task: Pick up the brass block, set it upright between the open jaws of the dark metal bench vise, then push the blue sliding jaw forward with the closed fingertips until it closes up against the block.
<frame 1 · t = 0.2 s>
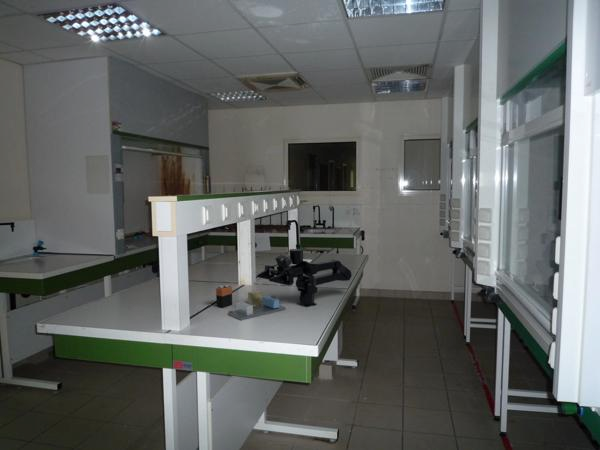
hand: (263, 277, 184), 17 cm above the lab bench, tool horizontal, fingers open, 9 cm apart
vise: (255, 312, 189), on the lab bench
battery: (224, 306, 200), on the lab bench
brass block: (255, 303, 203), on the lab bench
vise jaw: (271, 301, 194), point 3 cm above the lab bench, slide at 0.0 cm
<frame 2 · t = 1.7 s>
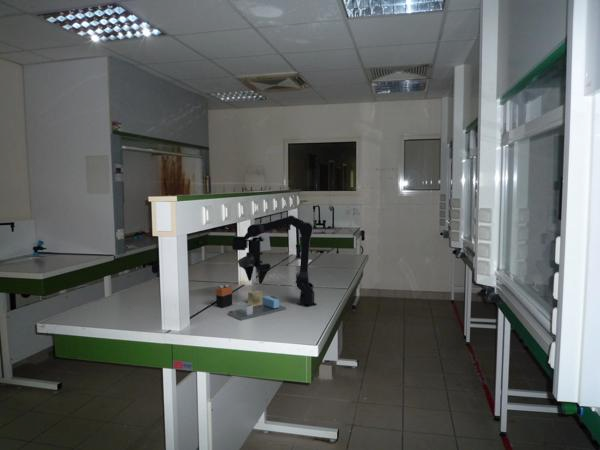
hand: (254, 282, 202), 11 cm above the lab bench, tool pointing down, fingers open, 9 cm apart
nothing on the lab bench moved.
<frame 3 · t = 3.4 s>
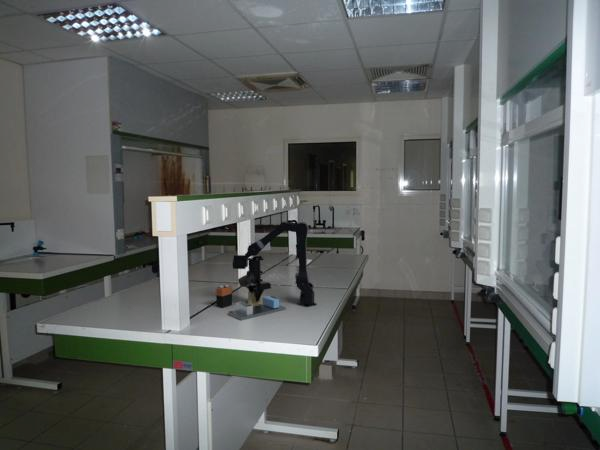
hand: (255, 300, 203), 2 cm above the lab bench, tool pointing down, fingers closed on brass block, 3 cm apart
brass block: (255, 303, 203), on the lab bench, touching gripper
everything else where it was.
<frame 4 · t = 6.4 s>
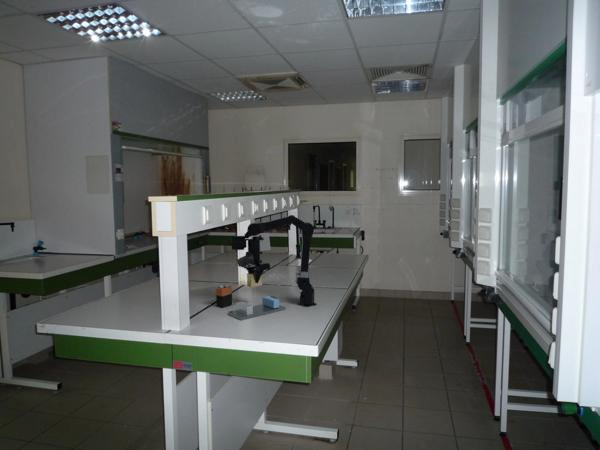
hand: (254, 282, 198), 12 cm above the lab bench, tool pointing down, fingers closed on brass block, 3 cm apart
brass block: (254, 285, 198), point 10 cm above the lab bench, touching gripper
everything else where it was.
when the fingers open (4 cm above the lab bench, at t = 9.4 s): brass block drops 1 cm, resting on vise.
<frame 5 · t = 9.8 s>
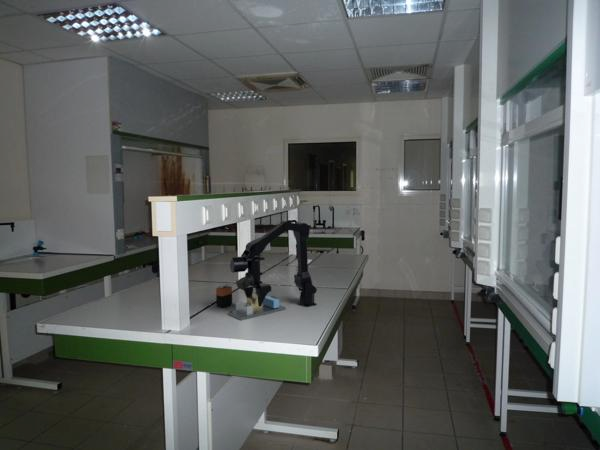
hand: (254, 304, 188), 4 cm above the lab bench, tool pointing down, fingers open, 8 cm apart
brass block: (254, 310, 188), point 1 cm above the lab bench, touching vise
everything else where it was.
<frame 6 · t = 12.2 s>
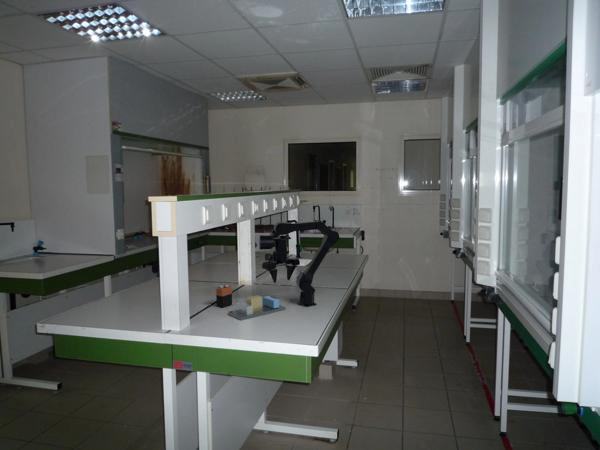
hand: (281, 281, 197), 12 cm above the lab bench, tool pointing down, fingers open, 8 cm apart
nothing on the lab bench moved.
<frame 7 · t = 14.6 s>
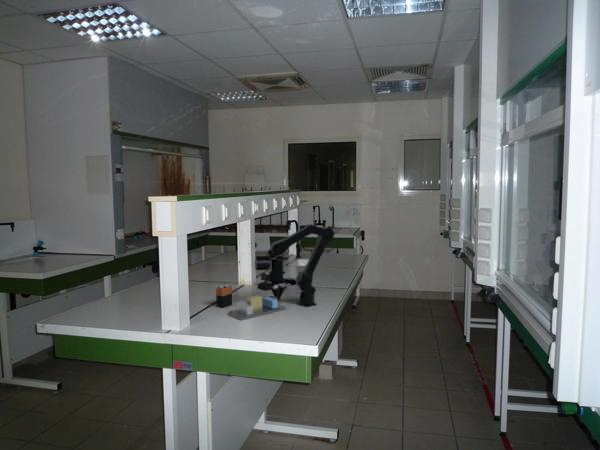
hand: (277, 301, 197), 3 cm above the lab bench, tool pointing down, fingers closed
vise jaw: (270, 301, 194), point 3 cm above the lab bench, slide at 0.8 cm, touching gripper
everything else where it was.
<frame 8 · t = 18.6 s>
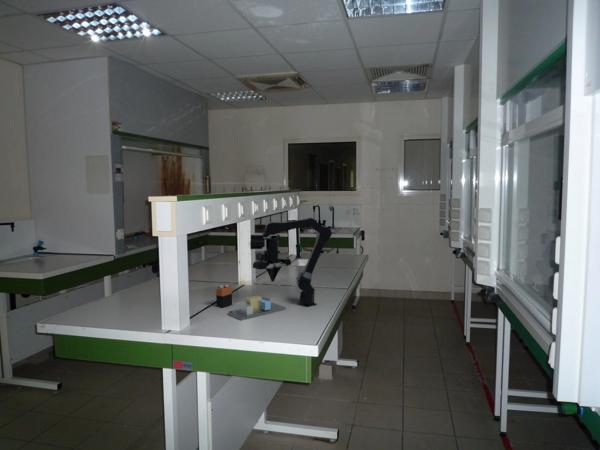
hand: (272, 281, 198), 12 cm above the lab bench, tool pointing down, fingers closed
brass block: (253, 310, 188), point 1 cm above the lab bench, touching vise, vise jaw
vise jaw: (263, 303, 191), point 3 cm above the lab bench, slide at 4.9 cm, touching brass block
everything else where it was.
at the end: brass block 0.7 cm off-centre on the vise, point 1.2 cm above the vise's base; brass block tilted 0°; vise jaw slide at 4.9 cm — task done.
